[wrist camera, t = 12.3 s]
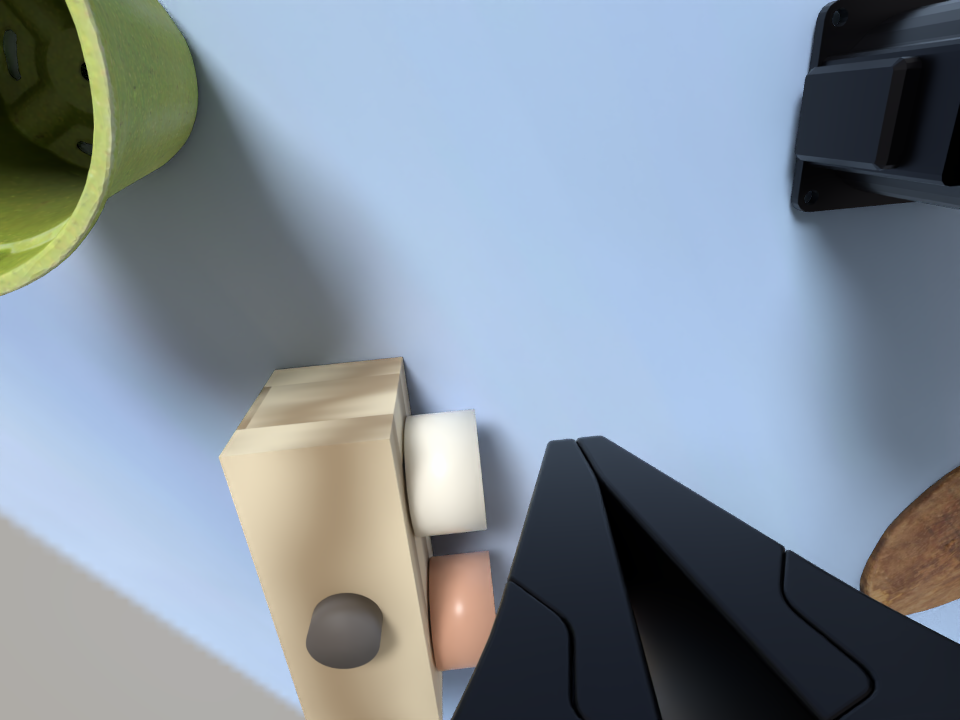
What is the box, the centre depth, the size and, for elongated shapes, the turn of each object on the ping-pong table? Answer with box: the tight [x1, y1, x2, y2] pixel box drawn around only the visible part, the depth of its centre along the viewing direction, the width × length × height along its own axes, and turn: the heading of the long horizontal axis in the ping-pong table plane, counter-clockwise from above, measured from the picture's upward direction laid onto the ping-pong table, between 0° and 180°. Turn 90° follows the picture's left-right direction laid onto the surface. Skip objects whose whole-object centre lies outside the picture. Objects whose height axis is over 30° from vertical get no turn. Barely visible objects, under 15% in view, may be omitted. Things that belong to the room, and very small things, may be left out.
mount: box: [219, 357, 442, 720], centre depth 21 cm, size 5×14×7 cm, turn 5°
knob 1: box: [402, 409, 487, 537], centre depth 20 cm, size 7×4×4 cm, turn 95°
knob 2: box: [428, 550, 496, 671], centre depth 23 cm, size 7×4×4 cm, turn 95°
